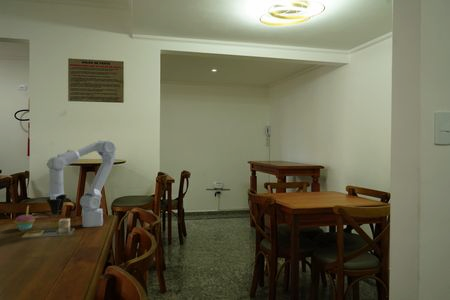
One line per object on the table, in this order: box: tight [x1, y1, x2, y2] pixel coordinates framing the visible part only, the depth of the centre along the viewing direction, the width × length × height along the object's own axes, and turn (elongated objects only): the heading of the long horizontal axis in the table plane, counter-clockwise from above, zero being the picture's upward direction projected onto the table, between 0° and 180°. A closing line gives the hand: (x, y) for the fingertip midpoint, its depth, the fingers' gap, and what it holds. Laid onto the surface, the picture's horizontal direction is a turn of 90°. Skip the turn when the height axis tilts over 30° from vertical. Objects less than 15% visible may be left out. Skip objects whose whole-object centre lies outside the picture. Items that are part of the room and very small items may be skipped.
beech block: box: [58, 218, 71, 234], centre depth 147 cm, size 4×4×6 cm
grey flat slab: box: [20, 227, 76, 239], centre depth 146 cm, size 20×9×1 cm, turn 106°
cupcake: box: [13, 205, 36, 231], centre depth 156 cm, size 9×8×12 cm
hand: (57, 212), depth 148 cm, fingers open, 7 cm apart
